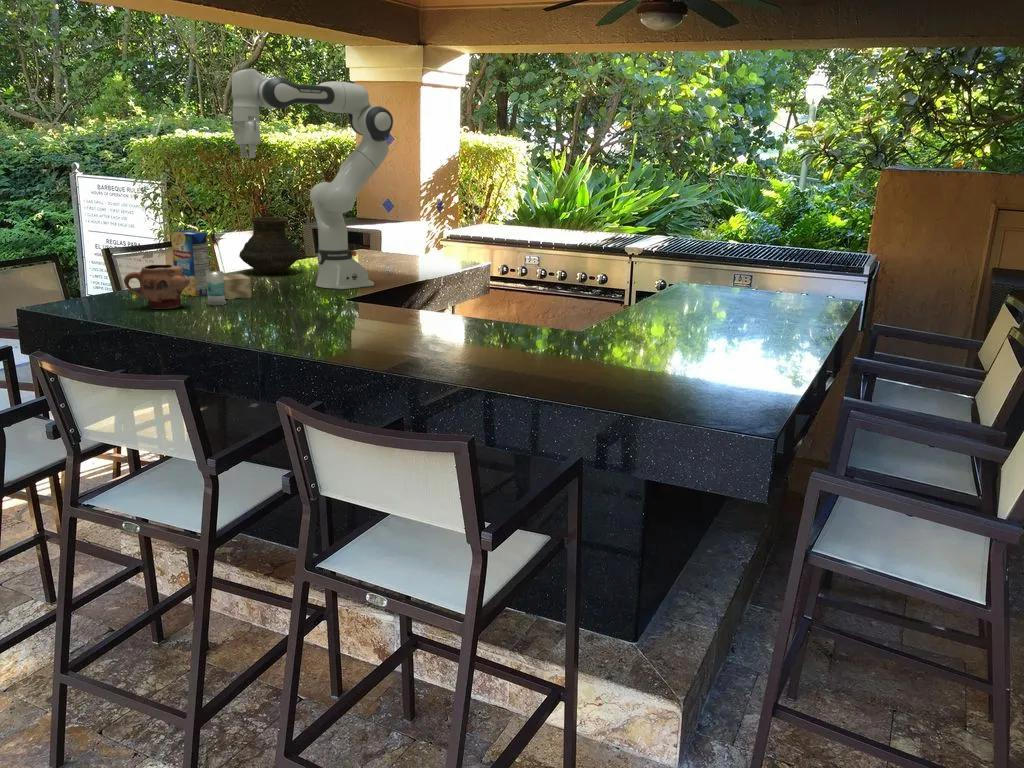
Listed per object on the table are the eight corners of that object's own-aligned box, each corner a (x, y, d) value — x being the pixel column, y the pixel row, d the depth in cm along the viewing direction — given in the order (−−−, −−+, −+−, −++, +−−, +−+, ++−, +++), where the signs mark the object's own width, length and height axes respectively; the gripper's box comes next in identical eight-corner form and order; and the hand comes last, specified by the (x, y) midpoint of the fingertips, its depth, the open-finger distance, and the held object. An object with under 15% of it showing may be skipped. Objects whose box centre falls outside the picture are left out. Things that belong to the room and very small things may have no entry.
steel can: (222, 302, 295) (220, 270, 292) (227, 305, 290) (225, 272, 287) (206, 303, 292) (203, 271, 289) (210, 306, 287) (208, 273, 284)
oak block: (243, 293, 312) (242, 274, 310) (251, 297, 304) (250, 278, 302) (215, 295, 307) (213, 275, 305) (222, 299, 299) (221, 279, 297)
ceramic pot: (296, 277, 349) (294, 221, 343) (235, 276, 346) (232, 220, 339) (303, 268, 372) (301, 216, 365) (245, 267, 368) (242, 215, 362)
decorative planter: (128, 313, 273) (123, 269, 270) (125, 306, 284) (121, 264, 280) (194, 309, 282) (190, 267, 278) (189, 302, 293) (186, 261, 289)
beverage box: (196, 296, 303) (191, 234, 297) (175, 293, 308) (170, 231, 302) (211, 294, 308) (207, 232, 302) (191, 290, 314) (186, 230, 308)
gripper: (264, 116, 292) (266, 158, 295) (247, 118, 309) (249, 157, 312) (245, 115, 289) (247, 158, 292) (229, 117, 305) (231, 157, 309)
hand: (248, 157), depth 302 cm, fingers open, 8 cm apart
